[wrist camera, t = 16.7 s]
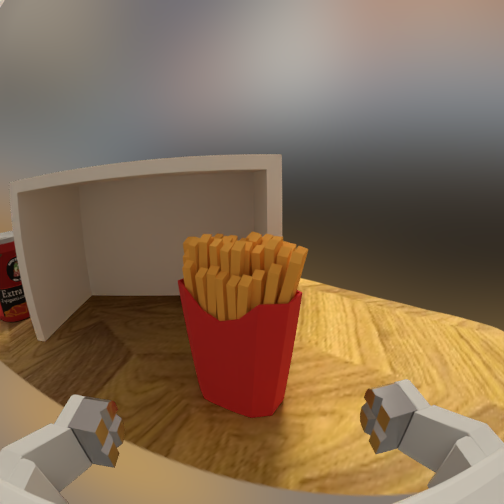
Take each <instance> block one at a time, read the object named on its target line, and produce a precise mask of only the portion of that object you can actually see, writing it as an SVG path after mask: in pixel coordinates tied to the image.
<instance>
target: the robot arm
mask: <svg viewBox="0 0 504 504" xmlns="http://www.w3.org/2000/svg"><path fill="white" fill-rule="evenodd" d="M3 2H4V0H0V7H1V6H2V4H3ZM364 398H365V400H366V403H365V404H364V405H363V406H362V408H361V412H360V422H361V426H362V428H363V430H364V432H365V433H367V434H369V435H371V436H370V439H369V442H370V444H371V446H372V448H373V450H374V452H375V454H379V453H383V452H386V451H390V450H393V449H397V448H398V450H400V451H401V452H403V453H405V454H406V455H408V456H409V457H411V458H412V459H414V460H416V461H417V462H419V463H421V464H422V465H424V466H426V467H427V468H429V469H431V470H432V471H434V472H436V473H435V475H434V476H433V477H432V479H431V480H430V481H429V483H428V485H427V486H428V487H429V489H427V490H425V491H423V492H420V493H418V494H416V495H413V496H411V497H408V498H406V499H403V500H401V501H398V502H396V503H393V504H504V443H503V442H502V441H501V439H500V438H499V437H498V436H497V435H496V434H495V433H494V432H493V430H492V429H491V428H490V427H489V426H488V425H487V424H486V423H483V422H480V421H477V420H474V419H471V418H468V417H465V416H462V415H460V414H457V413H454V412H451V411H449V410H446V409H443V408H441V407H438V406H436V405H433V406H430V405H429V403H428V402H427V401H426V400H425V398H424V397H423V396H422V395H421V394H420V392H419V391H418V390H417V389H416V387H415V386H414V385H413V384H412V383H411V381H409V380H407V379H405V380H402V381H398V382H394V383H390V384H386V385H382V386H378V387H374V388H369V389H368V390H367V391H366V393H365V396H364ZM117 410H118V408H117V406H116V404H115V402H114V401H112V400H105V399H99V398H93V397H87V396H86V397H85V396H80V395H75V394H74V395H72V396H71V397H70V399H69V400H68V402H67V403H66V405H65V407H64V408H63V410H62V412H61V413H60V415H59V417H58V419H57V420H56V422H55V423H54V424H52V423H50V424H49V425H46V426H45V427H43V428H41V429H39V430H37V431H35V432H33V433H31V434H29V435H27V436H25V437H23V438H21V439H19V440H18V441H15V442H13V443H11V444H9V445H7V446H5V447H3V448H2V450H1V451H0V504H69V503H68V501H67V500H66V499H65V498H64V497H63V496H62V495H61V494H60V493H59V492H60V491H62V489H64V488H65V487H66V486H68V485H69V484H70V483H71V482H72V481H74V480H75V479H76V478H77V477H78V476H80V475H81V474H82V473H83V472H84V471H86V470H87V469H88V468H89V467H90V466H91V465H92V464H97V465H103V466H108V467H115V465H116V462H117V459H118V456H119V452H118V450H117V447H119V446H120V445H121V444H122V443H123V440H124V434H125V428H124V423H123V421H122V418H120V417H119V416H118V415H117V414H116V413H117Z"/></svg>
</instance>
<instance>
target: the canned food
mask: <svg viewBox="0 0 504 504" xmlns="http://www.w3.org/2000/svg"><path fill="white" fill-rule="evenodd" d="M28 317H30V313H29V310H28V306H27V302H26V298H25V294H24V290H23V285H22V281H21V276H20V271H19V266H18V261H17V255H16V249H15V242H14V235H13V231H9V232H4V233H0V319H1V320H3V321H6V322H15V321H20V320H23V319H26V318H28Z"/></svg>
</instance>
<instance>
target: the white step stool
mask: <svg viewBox="0 0 504 504" xmlns="http://www.w3.org/2000/svg"><path fill="white" fill-rule="evenodd" d="M9 192H10V206H11V218H12V227H13V235H14V242H15V249H16V255H17V261H18V266H19V271H20V276H21V281H22V285H23V290H24V294H25V298H26V302H27V306H28V310H29V313H30V317H31V320H32V324H33V327H34V330H35V333H36V336H37V339H38V341H46V340H47V339H48V338H49V337H50V336H51V335H52V334H53V333H54V332H55V331H56V330H57V329H58V328H59V327H60V326H61V325H62V324H63V323H64V322H65V321H66V320H67V319H68V318H69V317H70V316H71V315H72V314H73V313H74V312H75V311H76V310H77V309H78V308H79V307H80V306H81V305H82V304H83V303H84V302H86V301H87V300H88V299H89V298H90V297H91V296H92V295H115V296H164V295H180V292H179V286H178V280H180V279H183V278H184V277H183V270H182V267H183V266H184V265H183V256H184V249H183V243H184V241H185V240H186V238H187V237H194V236H195V237H198V238H201V236H202V235H203V234H212V237H214V236H215V235H216V234H217V233H218V234H223V237H224V236H230V235H236V236H238V239H237V240H240V239H241V238H246V237H247V236H248V235H249V234H250V233H251V232H257V233H259V234H262V237H263V236H264V235H265V234H271V235H274V236H280V237H282V155H274V154H271V155H270V154H263V155H262V154H261V155H260V154H253V155H214V156H213V155H212V156H192V157H177V158H164V159H152V160H141V161H133V162H123V163H115V164H107V165H100V166H92V167H86V168H79V169H73V170H68V171H61V172H56V173H51V174H45V175H40V176H36V177H31V178H26V179H21V180H18V181H13V182H9Z"/></svg>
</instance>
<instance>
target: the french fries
mask: <svg viewBox="0 0 504 504" xmlns="http://www.w3.org/2000/svg"><path fill="white" fill-rule="evenodd" d="M237 239H238V236H236V235H230V236H224V237H223V234H218V233H217V234H216V235H215V236H214V237H212V234H203V235H202V236H201V238H198V237H195V236H194V237H187V238H186V240H185V241H184V243H183V249H184V256H183V265H184V266H183V267H182V270H183V277H184V278H183V279H180V280H178V286H179V292H180V298H181V303H182V308H183V313H184V319H185V324H186V329H187V333H188V338H189V343H190V348H191V352H192V357H193V361H194V365H195V370H196V374H197V378H198V382H199V386H200V389H201V392H202V394H203V397H204V399H206V400H208V401H210V402H212V403H214V404H216V405H219V406H221V407H223V408H225V409H228V410H230V411H233V412H236V413H238V414H241V415H244V416H247V417H250V418H255V417H263V416H270V415H273V413H274V412H275V411H276V409H277V408H278V406H279V405H280V404H281V402H282V401H283V399H284V394H285V389H286V384H287V379H288V374H289V368H290V363H291V358H292V352H293V346H294V341H295V335H296V329H297V323H298V317H299V310H300V304H301V297H302V292H300V291H298V290H297V287H298V284H299V281H300V277H301V273H302V270H303V267H304V263H305V259H306V256H307V252H308V249H306V248H304V247H301V246H299V247H298V248H297V249H296V244H292V243H289V242H284V241H283V237H280V236H274V235H271V234H265V235H264V236H263V237H262V234H259V233H257V232H251V233H250V234H249V235H248V236H247V237H246V238H241V239H240V240H237ZM295 249H296V250H295Z"/></svg>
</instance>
